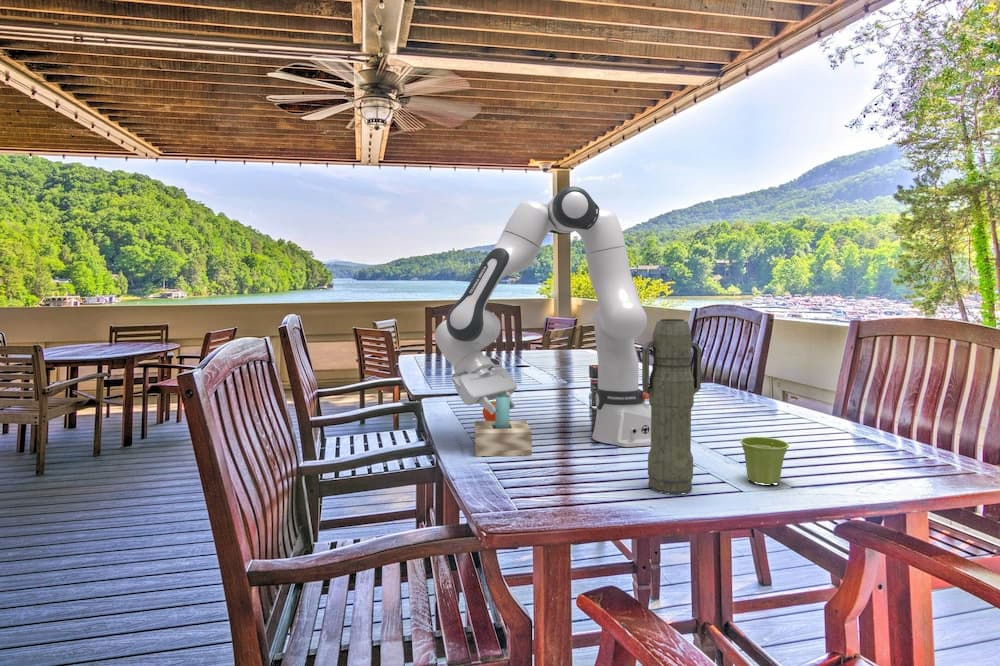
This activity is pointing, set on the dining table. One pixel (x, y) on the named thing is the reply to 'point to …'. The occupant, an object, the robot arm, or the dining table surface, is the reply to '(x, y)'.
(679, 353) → the thermos
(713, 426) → the dining table surface
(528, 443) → the maple block
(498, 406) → the teal pin
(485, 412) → the clementine
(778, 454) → the plant pot
